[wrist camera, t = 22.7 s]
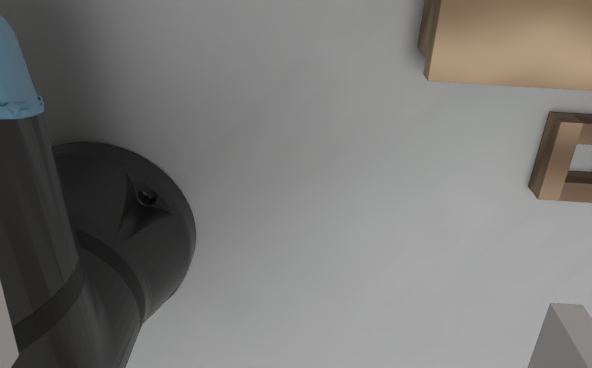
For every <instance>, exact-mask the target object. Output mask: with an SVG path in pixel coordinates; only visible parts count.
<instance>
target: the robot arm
mask: <svg viewBox="0 0 592 368" xmlns="http://www.w3.org/2000/svg"><path fill="white" fill-rule="evenodd" d="M43 112H44V101H43V99H42V98H41V96H40V95H39V94H37V93H36V92H35V89H34V86H33V83H32V80H31V78H30V75H29V72H28V69H27V66H26V63H25V60H24V57H23V54H22V51H21V48H20V45H19V42H18V39H17V37H16V35H15V33H14V31H13V29H12V28H11V26H10V25H9V23H8V22H7V21H6V20H5V19H4V18H3V17H2V16H1V15H0V368H125V367H126V364H127V362H128V359H129V357H130V354H131V352H132V349H133V347H134V344H135V342H136V339H137V336H138V334H139V331H140V329H141V326H142V324H143V323H144V322H145V321H146V320H147V319H148V318H149V317H150V316H151V315H152V314H153V313H154V312H155V311H156V310H157V309H158V308H159V307H160V306H161V305H162V304H163V303H164V302H165V301H166V300H168V299H169V298H170V297H171V296H172V295H173V294H174V293H175V292H176V290H177V289H178V288H179V286H180V285H181V283H182V282H183V280H184V278H185V276H186V274H187V271H188V269H189V266H190V263H191V260H192V257H193V254H194V250H195V243H196V230H195V223H194V219H193V216H192V213H191V210H190V208H189V205H188V203H187V201H186V199H185V198H184V196H183V194H182V193H181V191H180V190H179V189H178V187H177V186H176V185H175V184H174V183H173V181H172V180H171V179H170V178H169V177H168V176H167V175H166V174H164V173H163V172H162V171H161V170H160V169H159V168H157V167H156V166H155V165H153V164H152V163H150V162H149V161H147V160H145V159H144V158H142V157H140V156H138V155H136V154H134V153H132V152H129V151H127V150H124V149H121V148H118V147H115V146H111V145H106V144H100V143H88V142H81V143H69V144H64V145H60V146H56V147H53V148H52V147H51V144H50V140H49V137H48V133H47V130H46V126H45V123H44V119H43V115H42V113H43ZM528 368H592V318H591V317H590V315H589V314H588V312H587V311H586V309H585V308H584V306H583V305H576V304H560V303H550V305H549V308H548V311H547V314H546V316H545V319H544V322H543V325H542V328H541V331H540V334H539V337H538V339H537V342H536V345H535V348H534V351H533V354H532V357H531V360H530V362H529V365H528Z"/></svg>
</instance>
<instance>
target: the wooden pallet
mask: <svg viewBox="0 0 592 368" xmlns="http://www.w3.org/2000/svg"><path fill="white" fill-rule="evenodd" d="M418 48H419V49H420V51H421V52H422V53H423V55H424V56H425V58H426V61H425V67H424V73H423V74H424V76H425V77H426V79H427V80H428V81H438V82H455V83H471V84H488V85H504V86H521V87H537V88H554V89H570V90H587V91H592V0H425V4H424V10H423V16H422V23H421V29H420V35H419V42H418ZM577 144H588V145H592V114H577V113H560V112H550V113H549V116H548V120H547V123H546V126H545V130H544V133H543V137H542V140H541V144H540V147H539V151H538V154H537V158H536V161H535V165H534V168H533V172H532V175H531V179H530V182H529V186H528V187H529V188H530V190H531V191H532V192H533V194H534V195H535V196H536V198H537V199H539V200H555V201H572V202H588V203H592V172H577V171H568V170H569V167H570V163H571V160H572V157H573V154H574V151H575V148H576V145H577Z"/></svg>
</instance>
